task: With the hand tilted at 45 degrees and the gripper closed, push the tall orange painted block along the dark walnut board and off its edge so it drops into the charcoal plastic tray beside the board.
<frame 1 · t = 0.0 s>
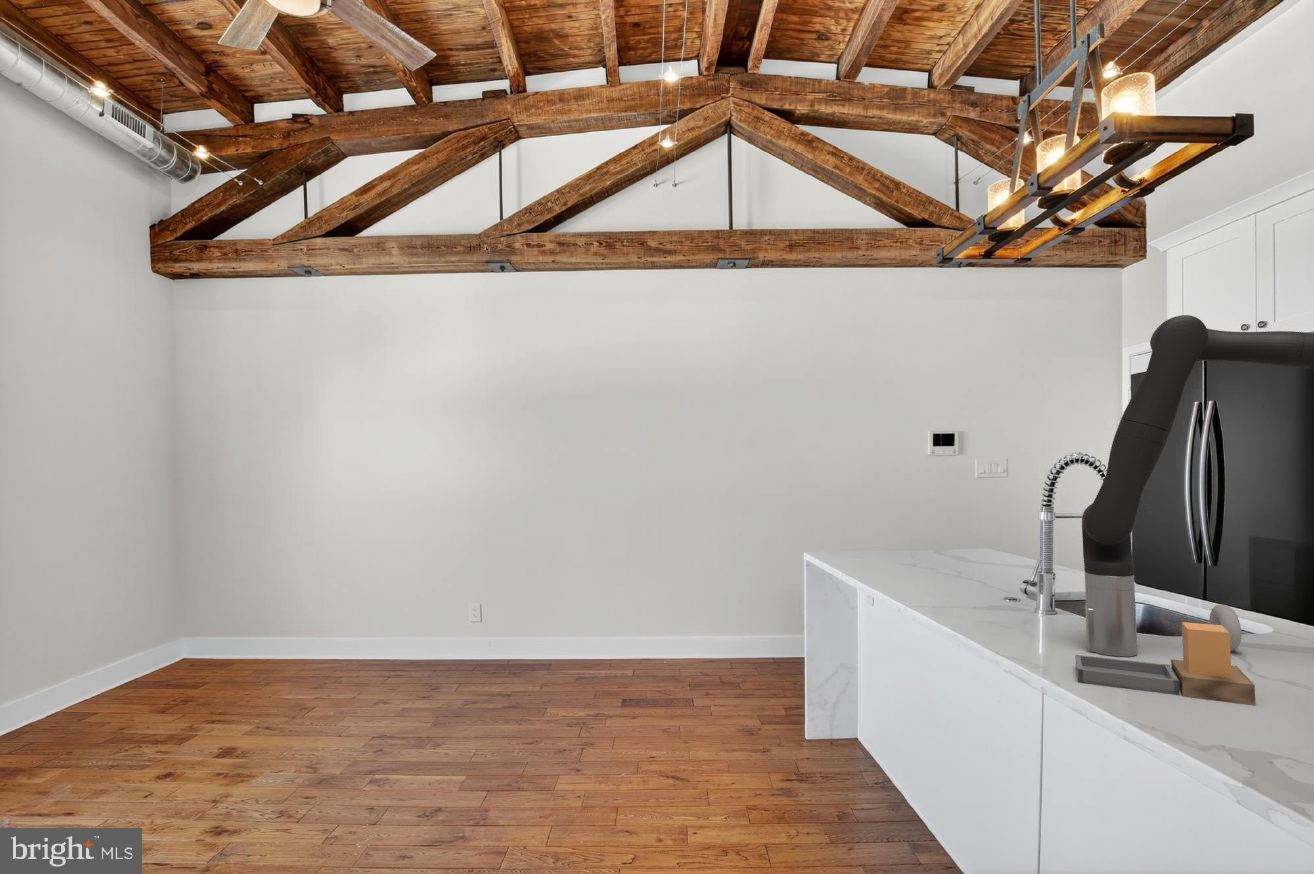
orange block: (1206, 670, 125), point 3 cm above the table, touching walnut board
donut: (1226, 650, 150), on the table
walnut board: (1211, 690, 124), on the table
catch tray: (1124, 679, 131), on the table
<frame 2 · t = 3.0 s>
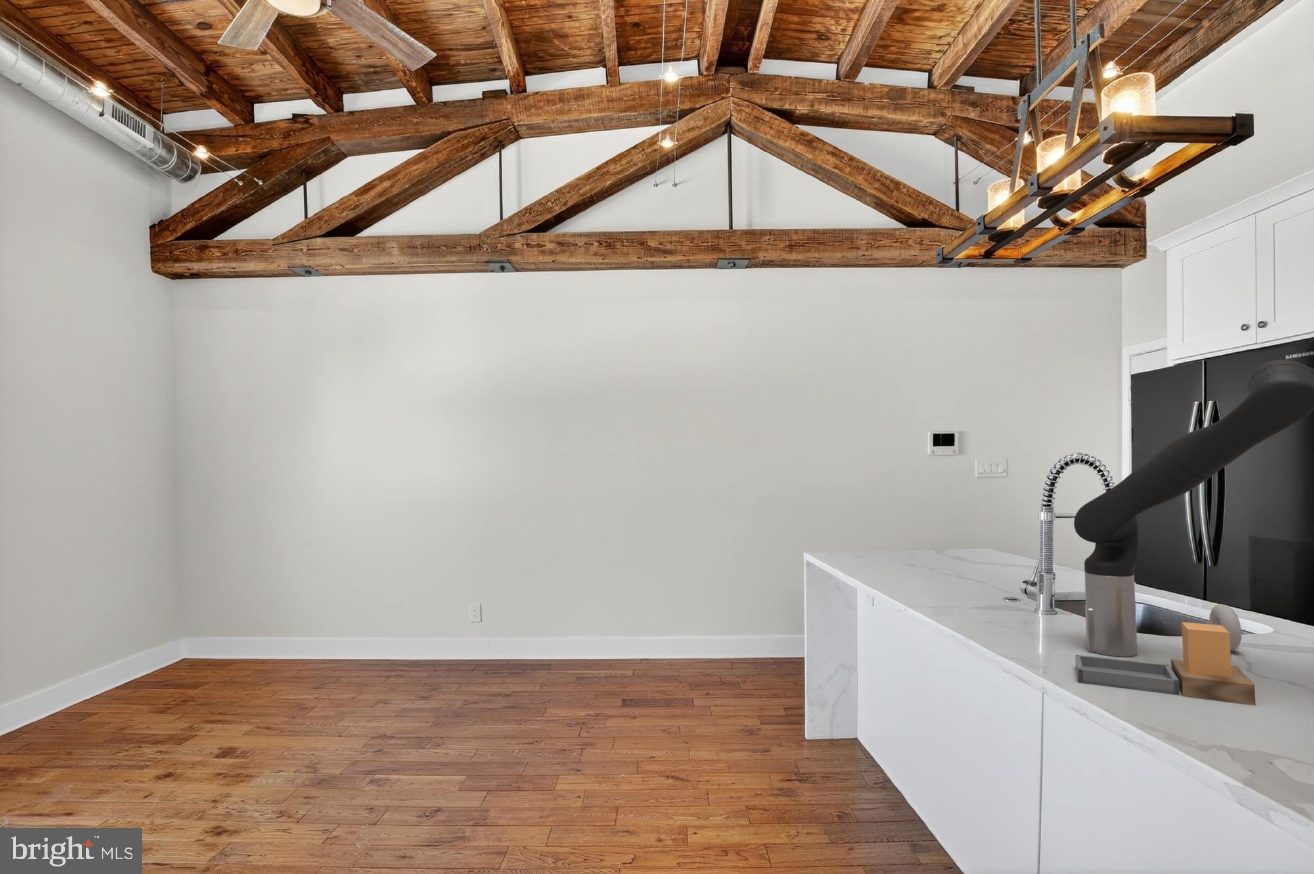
nothing on the table moved.
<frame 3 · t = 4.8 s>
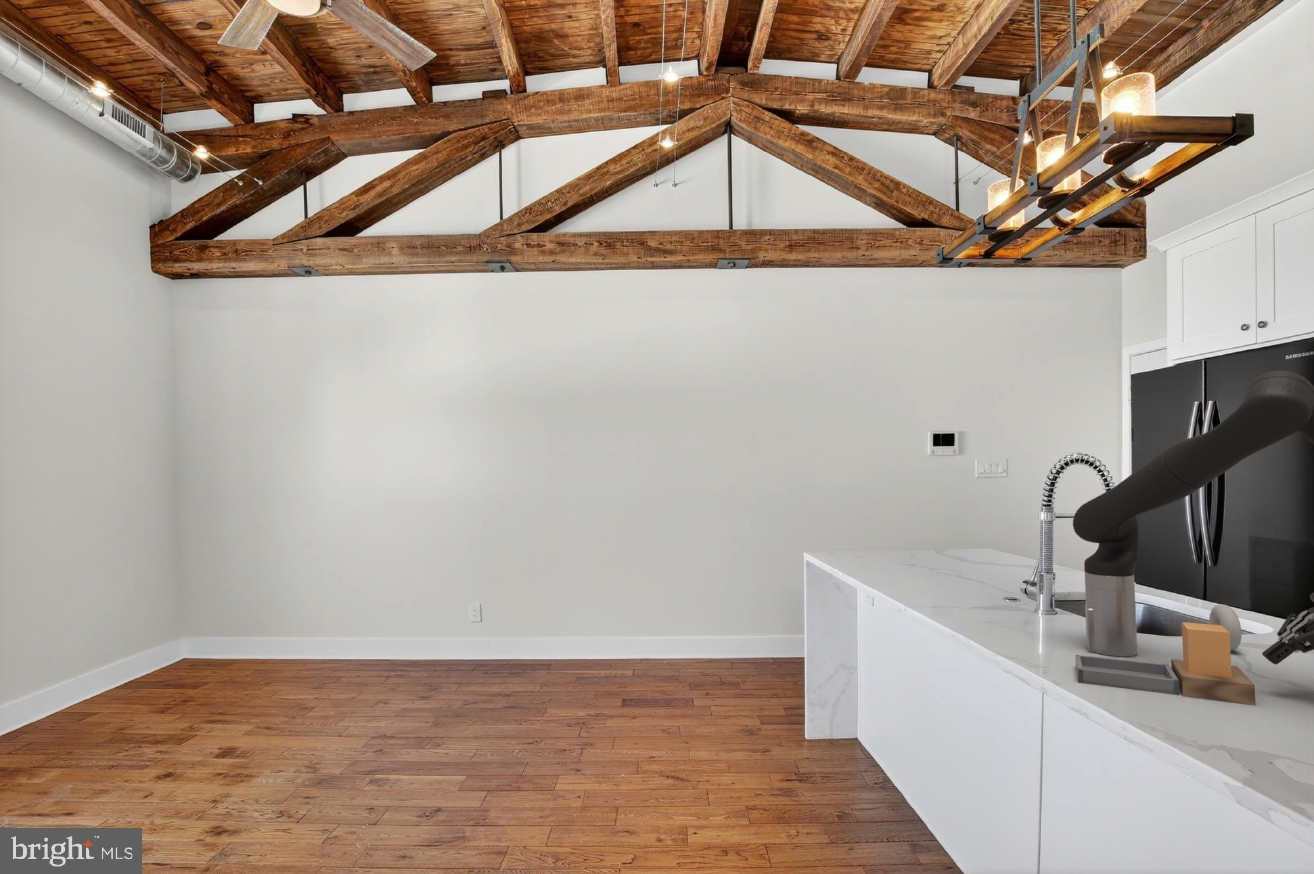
hand: (1268, 659, 121), 7 cm above the table, tool tilted 45°, fingers closed
nothing on the table moved.
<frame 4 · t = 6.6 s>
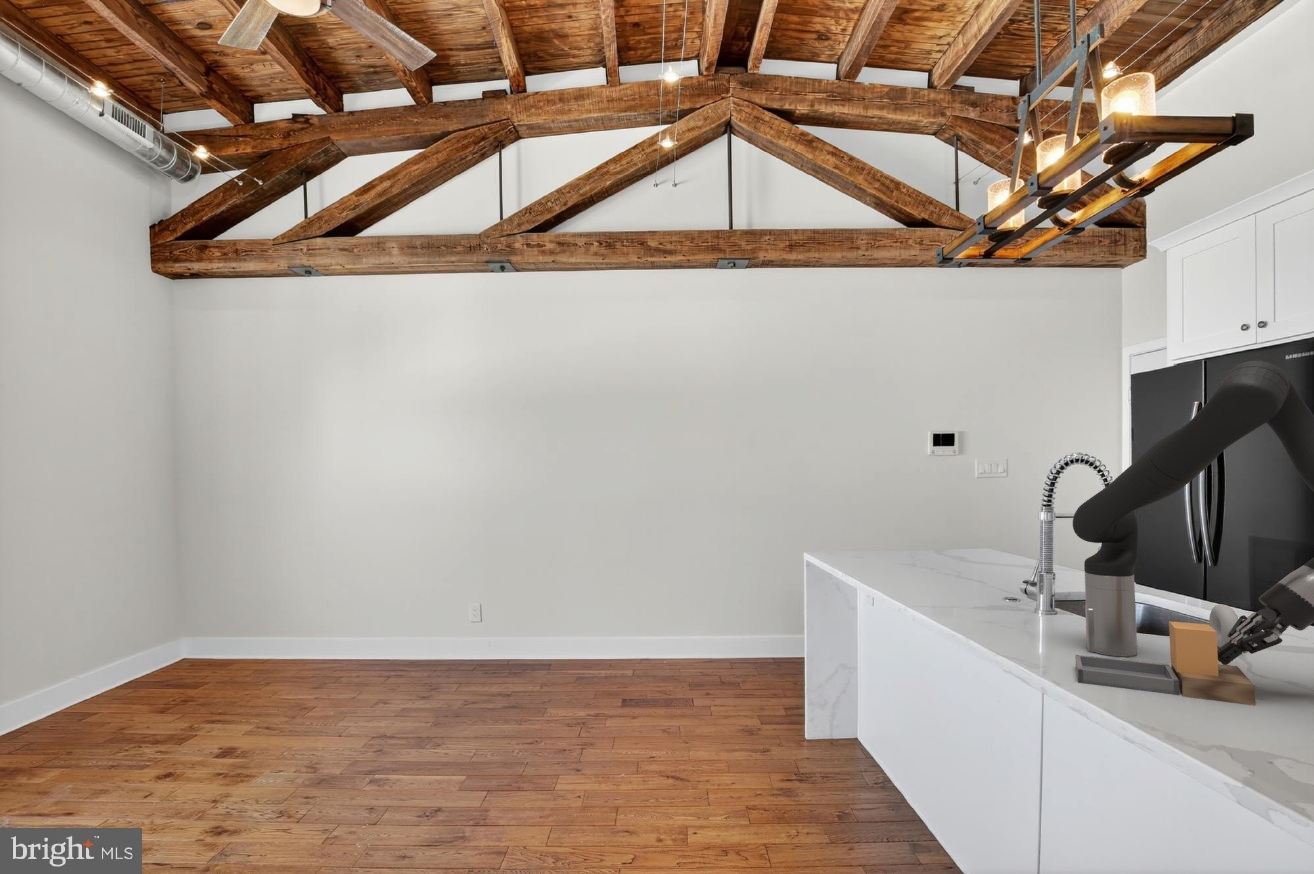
hand: (1218, 659, 124), 6 cm above the table, tool tilted 45°, fingers closed
orange block: (1193, 669, 126), point 4 cm above the table
everything else where it was.
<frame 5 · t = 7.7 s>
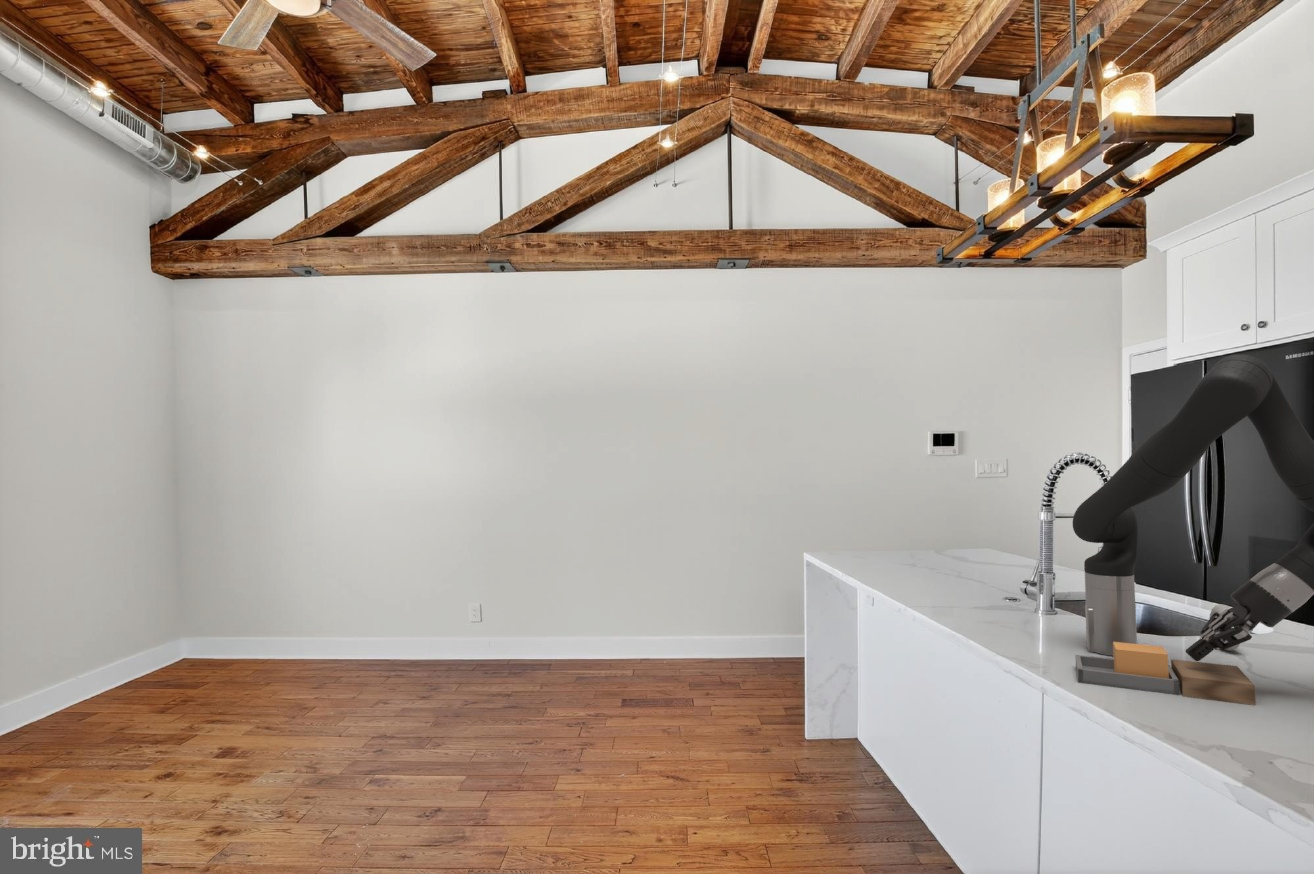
hand: (1190, 656, 126), 6 cm above the table, tool tilted 45°, fingers closed
orange block: (1165, 666, 127), point 4 cm above the table, tilted 90°, touching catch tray
everything else where it was.
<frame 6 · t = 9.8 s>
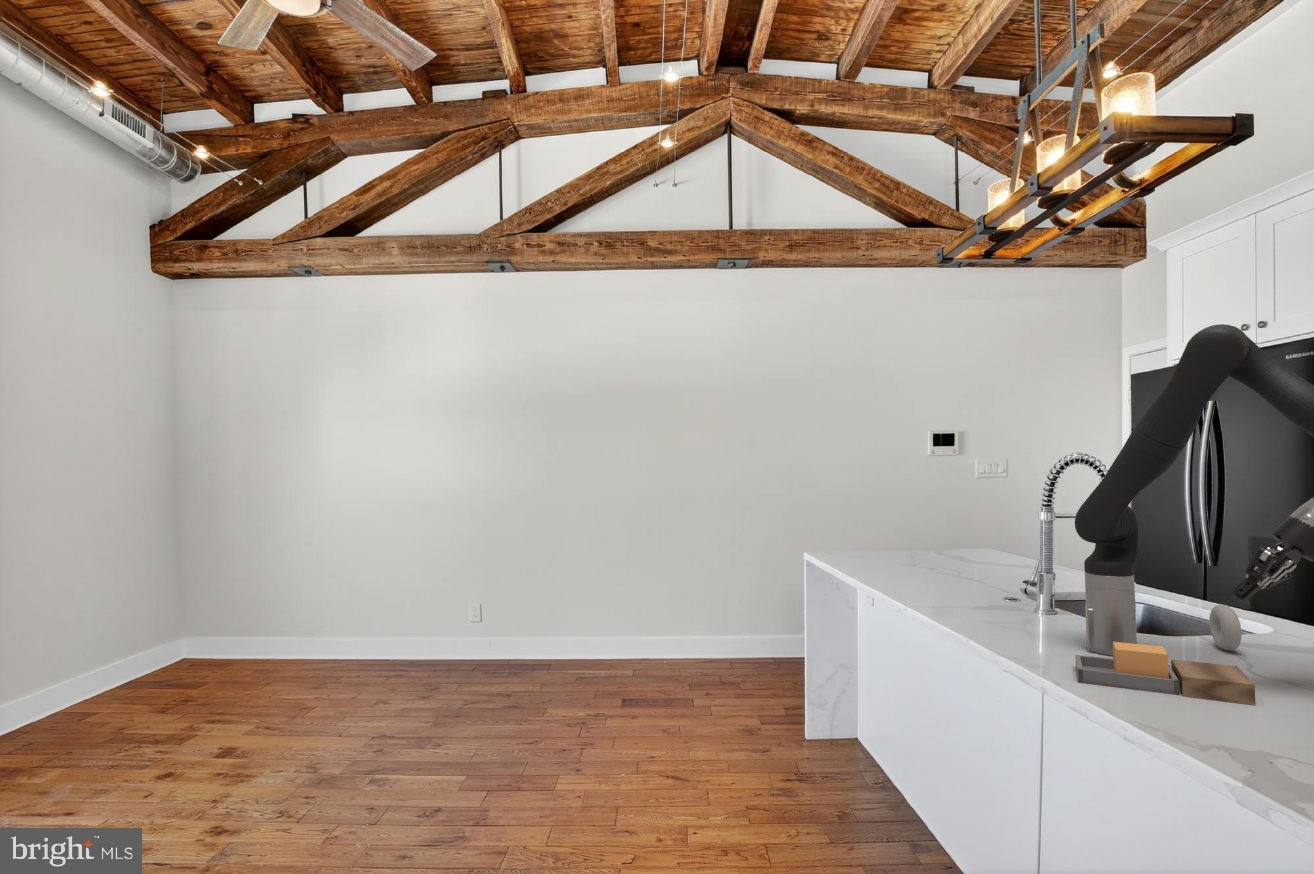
hand: (1237, 597, 126), 17 cm above the table, tool tilted 40°, fingers closed
nothing on the table moved.
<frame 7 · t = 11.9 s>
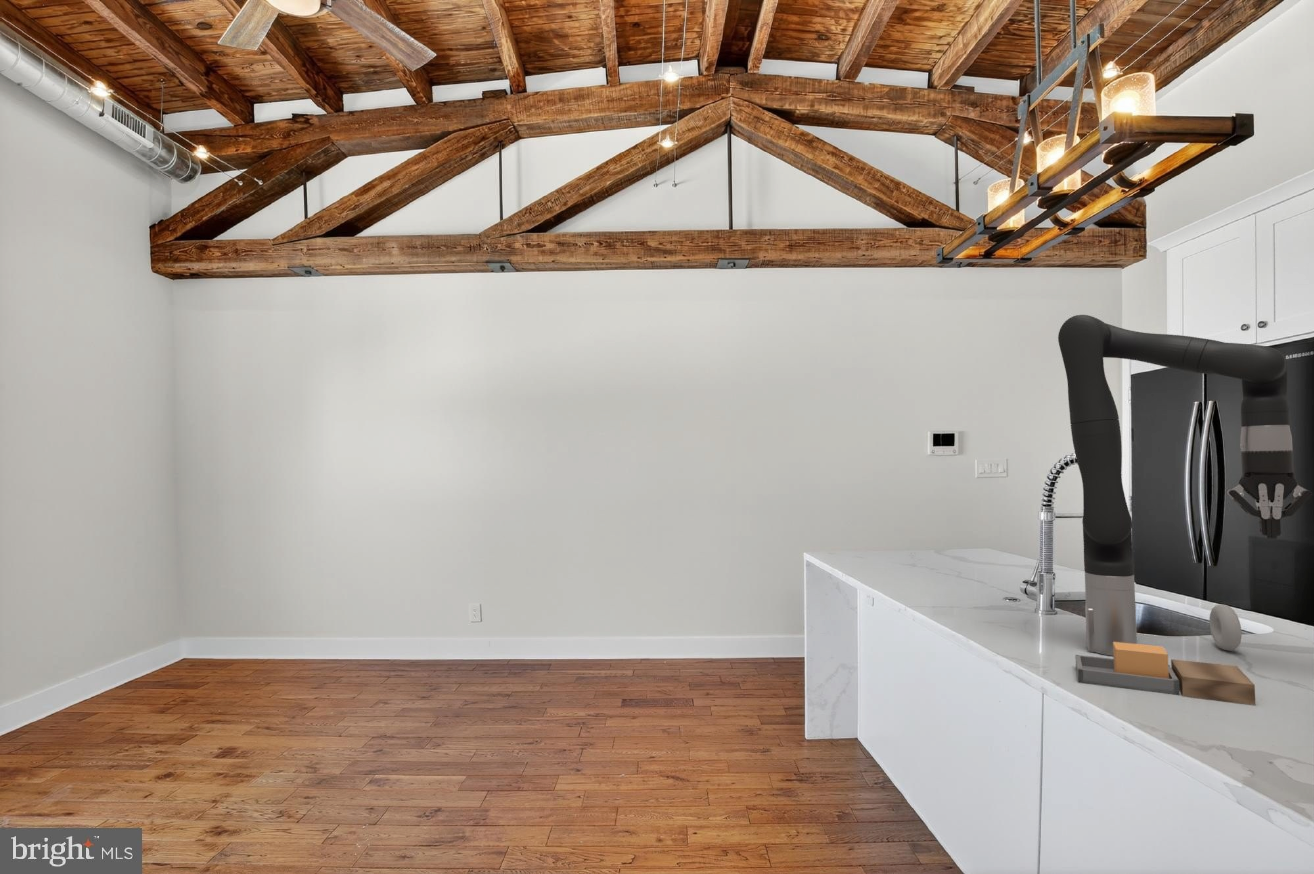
hand: (1270, 538, 132), 27 cm above the table, tool pointing down, fingers closed
nothing on the table moved.
at the end: orange block inside the target area (5.9 cm from its centre), point 3.6 cm above the table; orange block touching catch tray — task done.
